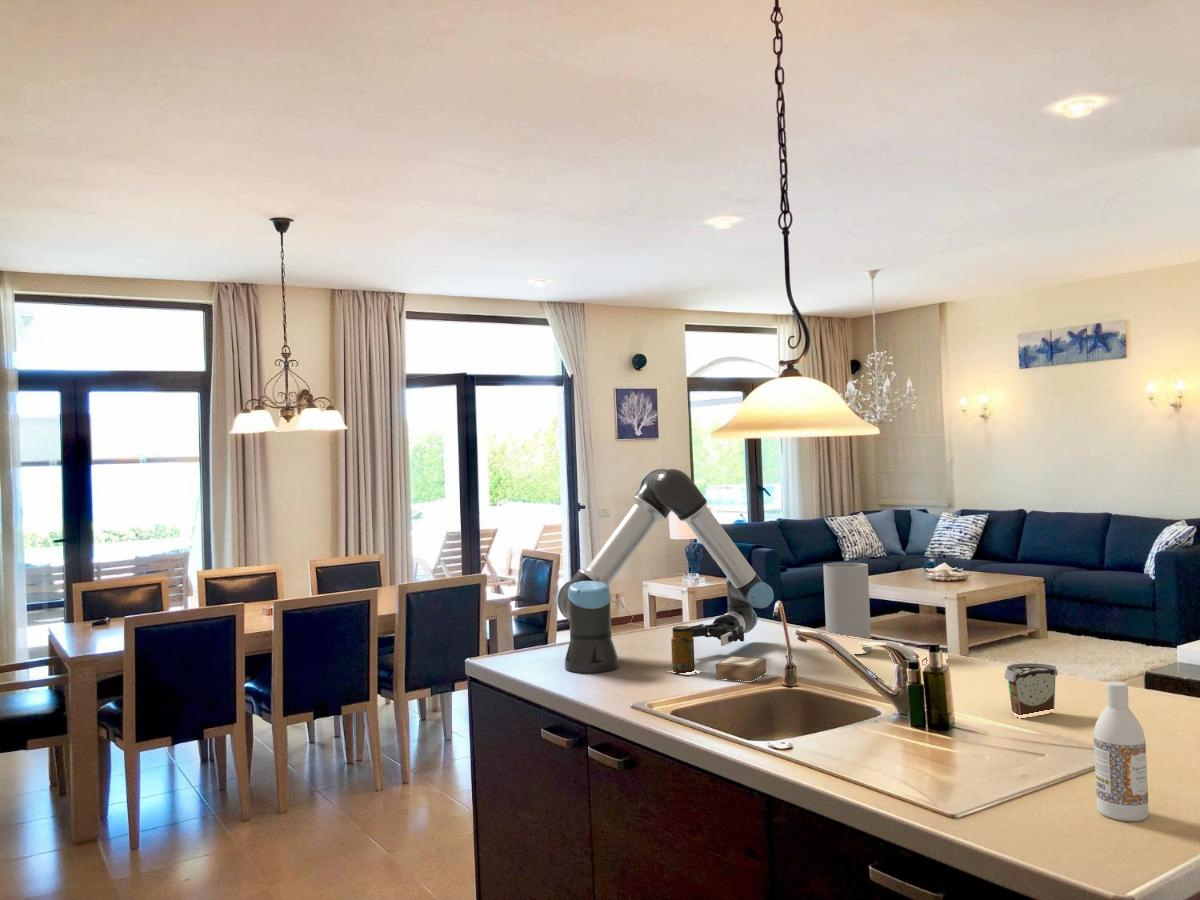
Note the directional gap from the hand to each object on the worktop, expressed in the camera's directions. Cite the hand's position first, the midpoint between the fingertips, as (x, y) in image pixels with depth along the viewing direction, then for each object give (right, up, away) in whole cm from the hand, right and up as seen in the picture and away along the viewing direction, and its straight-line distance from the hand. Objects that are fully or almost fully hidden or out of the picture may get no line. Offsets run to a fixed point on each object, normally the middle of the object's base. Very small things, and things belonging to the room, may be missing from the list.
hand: (699, 639), depth 260 cm
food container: (+64, -4, -60) cm, 87 cm away
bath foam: (+53, -3, -117) cm, 128 cm away
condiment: (-5, -7, -8) cm, 12 cm away
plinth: (+9, -6, -16) cm, 20 cm away
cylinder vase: (+45, -6, +10) cm, 46 cm away
